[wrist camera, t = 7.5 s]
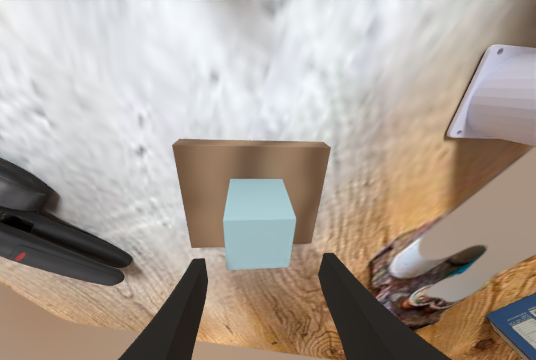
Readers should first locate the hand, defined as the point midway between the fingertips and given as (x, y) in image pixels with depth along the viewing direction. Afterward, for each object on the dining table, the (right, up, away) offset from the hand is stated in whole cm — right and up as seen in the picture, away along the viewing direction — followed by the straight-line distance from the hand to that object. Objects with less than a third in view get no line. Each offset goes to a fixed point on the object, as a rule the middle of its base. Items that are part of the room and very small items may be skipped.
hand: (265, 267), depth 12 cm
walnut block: (-2, +4, +10) cm, 11 cm away
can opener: (-22, +1, +9) cm, 24 cm away
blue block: (-1, +3, +8) cm, 8 cm away
